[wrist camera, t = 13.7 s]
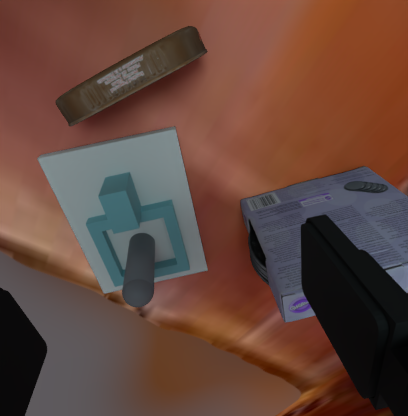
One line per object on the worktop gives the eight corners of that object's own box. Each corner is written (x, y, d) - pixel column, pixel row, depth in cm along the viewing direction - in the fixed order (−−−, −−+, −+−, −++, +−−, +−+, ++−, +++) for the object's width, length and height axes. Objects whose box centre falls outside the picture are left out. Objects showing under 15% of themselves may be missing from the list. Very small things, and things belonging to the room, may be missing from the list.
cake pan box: (237, 228, 44) (278, 331, 29) (231, 200, 41) (272, 295, 26) (364, 194, 44) (473, 279, 29) (365, 163, 41) (486, 238, 26)
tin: (82, 117, 34) (61, 140, 26) (64, 91, 32) (36, 107, 25) (203, 53, 32) (216, 58, 25) (190, 21, 30) (199, 17, 23)
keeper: (40, 154, 35) (-9, 204, 25) (174, 126, 35) (181, 163, 25) (105, 287, 46) (89, 360, 36) (206, 265, 47) (220, 330, 36)
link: (72, 184, 36) (60, 204, 32) (162, 164, 36) (162, 182, 32) (116, 279, 44) (111, 305, 40) (189, 263, 44) (192, 287, 40)
